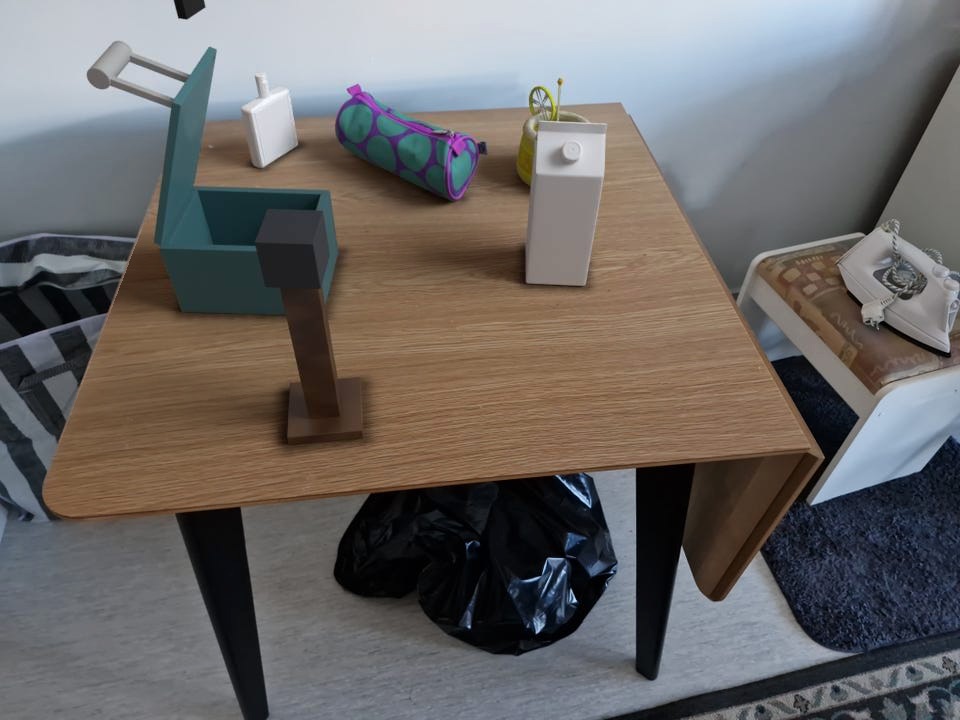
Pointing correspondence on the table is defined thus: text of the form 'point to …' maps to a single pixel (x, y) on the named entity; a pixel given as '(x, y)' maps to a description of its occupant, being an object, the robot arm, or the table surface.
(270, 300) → the chest
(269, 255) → the block
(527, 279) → the milk carton
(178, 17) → the robot arm
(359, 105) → the pencil case
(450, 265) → the table surface
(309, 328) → the post stand
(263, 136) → the perfume bottle
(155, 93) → the lid
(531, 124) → the yellow pot
